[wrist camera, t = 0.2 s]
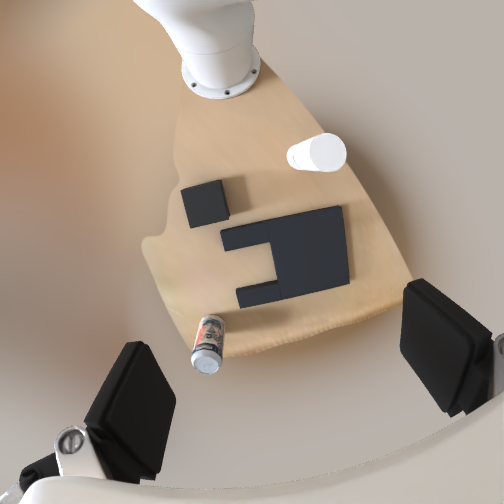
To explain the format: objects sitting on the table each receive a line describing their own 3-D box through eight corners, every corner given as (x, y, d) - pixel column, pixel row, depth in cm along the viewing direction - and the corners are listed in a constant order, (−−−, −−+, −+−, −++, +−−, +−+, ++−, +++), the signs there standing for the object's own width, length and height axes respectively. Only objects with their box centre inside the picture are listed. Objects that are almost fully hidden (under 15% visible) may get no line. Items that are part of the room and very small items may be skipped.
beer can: (227, 315, 49) (223, 356, 38) (223, 336, 51) (219, 378, 39) (201, 311, 49) (191, 351, 38) (198, 331, 50) (189, 373, 39)
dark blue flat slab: (220, 230, 45) (219, 232, 43) (338, 205, 44) (341, 206, 42) (240, 304, 49) (240, 308, 47) (347, 280, 48) (349, 283, 47)
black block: (185, 188, 42) (180, 190, 39) (221, 179, 42) (219, 180, 39) (194, 223, 44) (190, 228, 41) (229, 215, 44) (228, 219, 41)
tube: (317, 150, 41) (352, 144, 27) (306, 174, 42) (337, 178, 28) (293, 139, 40) (317, 126, 26) (282, 163, 42) (302, 161, 27)
